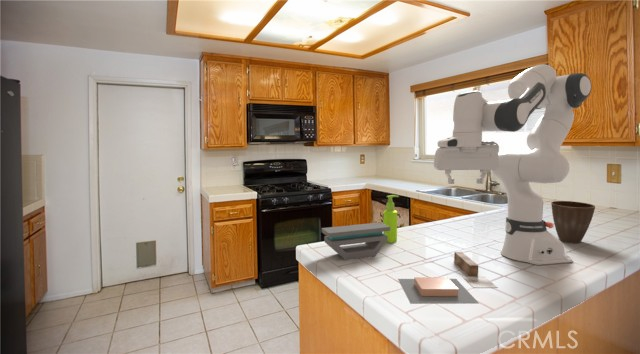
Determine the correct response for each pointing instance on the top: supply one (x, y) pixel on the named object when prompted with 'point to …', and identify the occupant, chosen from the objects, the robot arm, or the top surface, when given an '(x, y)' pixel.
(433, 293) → the tile
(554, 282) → the top surface
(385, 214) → the soap dispenser
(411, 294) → the mat
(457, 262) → the turner
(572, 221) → the plant pot
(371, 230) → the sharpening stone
